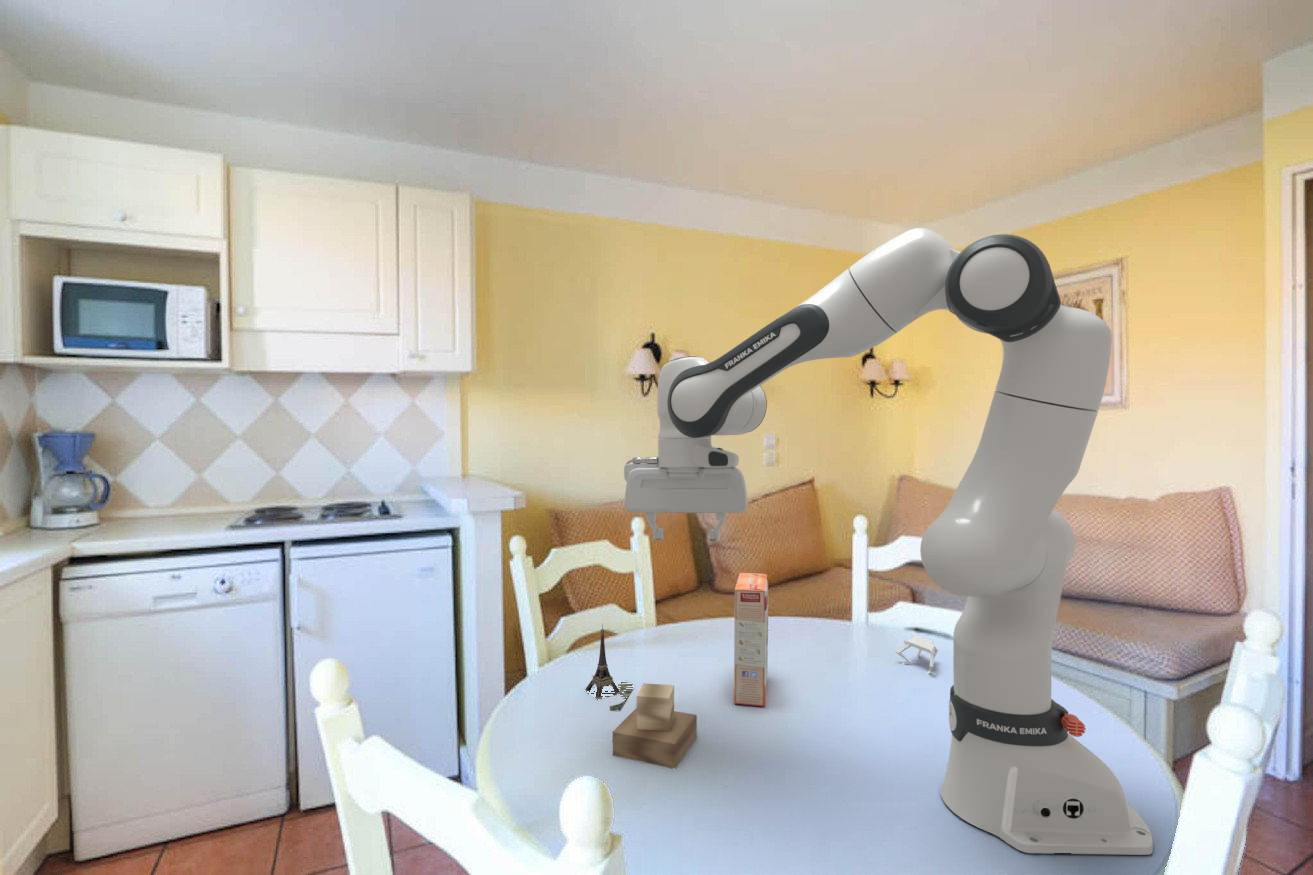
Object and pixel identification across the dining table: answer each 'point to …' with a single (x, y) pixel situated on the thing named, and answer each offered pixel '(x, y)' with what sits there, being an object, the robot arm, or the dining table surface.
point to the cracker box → (751, 639)
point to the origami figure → (921, 645)
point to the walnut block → (655, 740)
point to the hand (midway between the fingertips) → (686, 540)
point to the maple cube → (655, 707)
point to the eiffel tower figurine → (607, 679)
